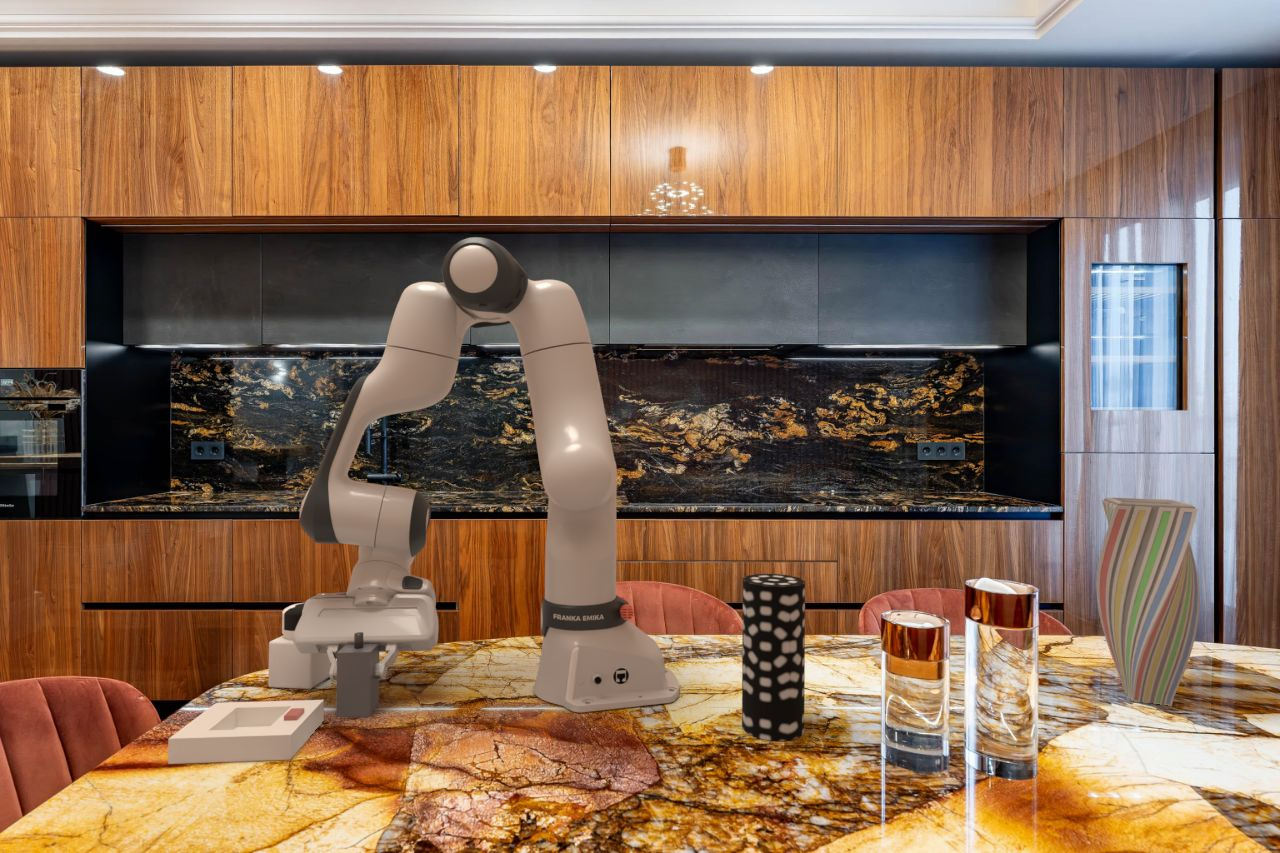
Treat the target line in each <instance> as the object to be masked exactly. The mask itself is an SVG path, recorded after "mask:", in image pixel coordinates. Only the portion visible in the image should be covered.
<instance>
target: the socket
mask: <svg viewBox="0 0 1280 853" xmlns="http://www.w3.org/2000/svg"><path fill="white" fill-rule="evenodd" d="M324 705H325V700H324V699H305V700H303V699H301V700H300V699H299V700H269V701H268V700H267V701H233V702H232V701H231V702H230V701H229V702H228V701H227V702H225V701H224V702H215V703H214V704H213V705H211V706H210V707H209V708H207V709H206V710H205V711H203V712H202V713H200V714H199V715H198V716H196V717H195V718H194V719H193V720H191V721H190V722H189V723H187V724H186V725H185V726H184V727H182V728H180V729H179V730H178V731H176V732H175V733H174V734H172V736H170V737H169V738H168V739H167V740H168V742H167V743H168V746H167V748H168V750H167V751H168V752H167V763H168V764H167V765H175V764H176V765H179V764H203V763H204V764H206V763H207V764H208V763H212V764H213V763H233V762H235V763H237V762H258V761H259V762H263V761H264V762H265V761H289V760H292V759H293V757H295V756H296V754H297V753H299V751H300V750H301V748H302V747H303V746H304V745H305V744H306V743H307V742H308V740H309V739H310V738H311V737H312V736H313V735H314V733H315V732H316V731H317V730H318V729H317V728H318V727H319V726H322V724H323V723H324V722H325V721H324V718H325V717H324V716H325V713H324V712H325V709H324V708H325V707H324ZM323 721H324V722H323ZM322 722H323V723H322ZM319 728H320V727H319ZM316 729H317V730H316ZM315 730H316V731H315ZM312 734H313V735H312ZM311 735H312V736H311ZM310 736H311V737H310Z"/></svg>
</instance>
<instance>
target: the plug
mask: <svg viewBox="0 0 1280 853" xmlns="http://www.w3.org/2000/svg"><path fill="white" fill-rule="evenodd" d="M379 644H380V643H363V632H357V633H355V634H354V644H346V645H345V646H344V647H343V648H342V649H341V650H340V651H338V652H337V658H336V661H337V680H336V695H335V696H336V702H335V704H336V706H335V707H336V711H335V712H336V714H335V715H336V716H335V718H336V717H337V718H336V719H339V718H338V717H349V718H370V717H371V716H372V714H373V713H374V712H375V710H376V709H377V708H378V706H379V704H380V679H374V677H373V670H374V664H375V663H380V652H379ZM373 711H374V712H373Z"/></svg>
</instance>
